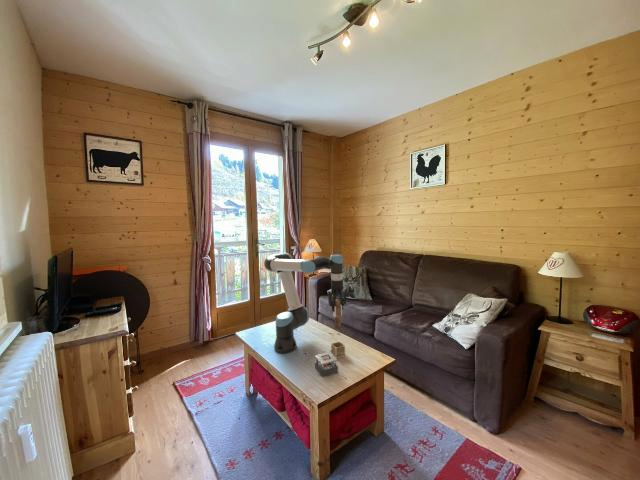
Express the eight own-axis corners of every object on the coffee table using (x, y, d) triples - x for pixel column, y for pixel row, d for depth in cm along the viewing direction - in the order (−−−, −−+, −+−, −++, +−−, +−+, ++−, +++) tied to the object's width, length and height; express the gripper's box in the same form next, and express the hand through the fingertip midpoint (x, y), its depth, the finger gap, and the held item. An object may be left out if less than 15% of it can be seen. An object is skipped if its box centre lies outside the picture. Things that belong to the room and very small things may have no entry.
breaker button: (322, 366, 158) (322, 363, 158) (327, 364, 160) (327, 361, 159) (324, 368, 156) (324, 365, 155) (329, 367, 157) (329, 364, 157)
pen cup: (331, 353, 176) (331, 343, 175) (340, 351, 179) (340, 341, 178) (335, 358, 170) (335, 348, 169) (345, 356, 173) (345, 345, 172)
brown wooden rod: (334, 327, 173) (333, 299, 171) (339, 326, 174) (338, 299, 172) (336, 329, 170) (336, 301, 168) (341, 328, 171) (341, 300, 169)
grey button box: (315, 367, 160) (314, 355, 160) (330, 363, 164) (330, 351, 164) (321, 377, 151) (321, 364, 150) (337, 372, 155) (337, 359, 154)
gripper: (327, 282, 162) (328, 320, 165) (351, 279, 169) (352, 315, 171) (322, 279, 169) (323, 315, 172) (345, 276, 176) (346, 311, 178)
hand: (337, 315), depth 171 cm, fingers closed on brown wooden rod, 3 cm apart
